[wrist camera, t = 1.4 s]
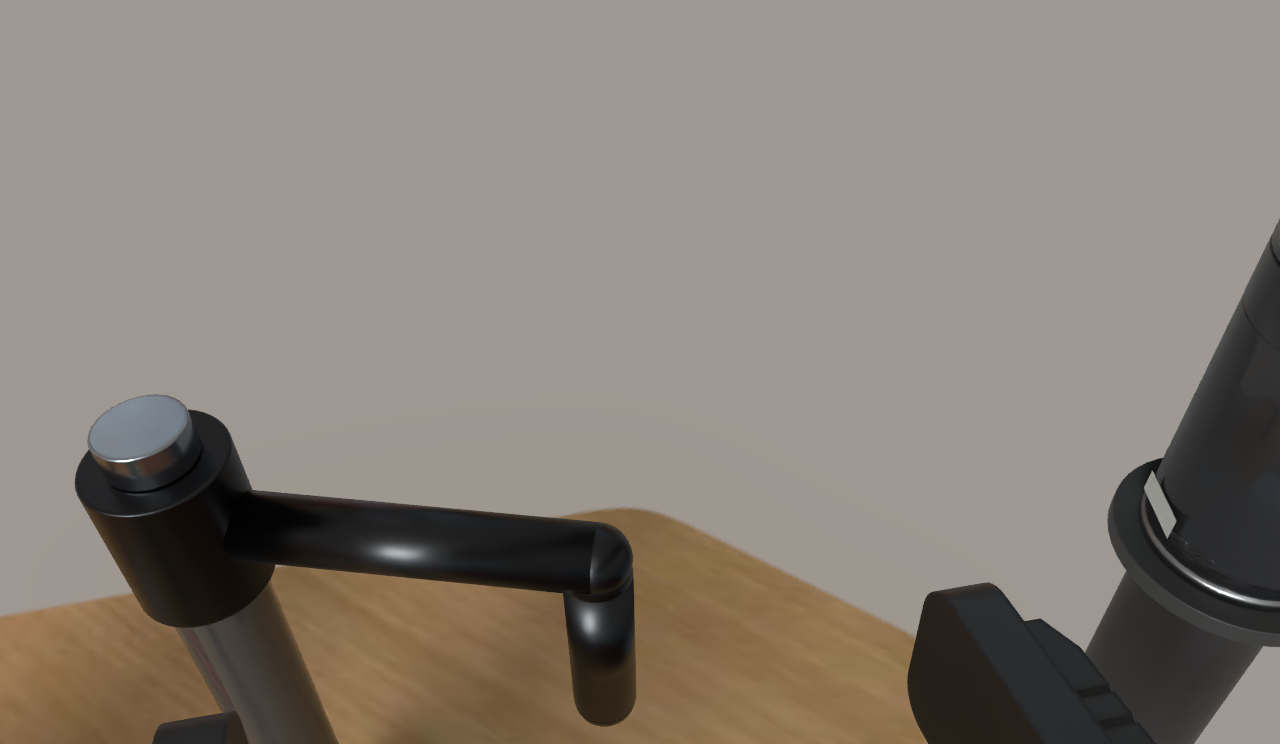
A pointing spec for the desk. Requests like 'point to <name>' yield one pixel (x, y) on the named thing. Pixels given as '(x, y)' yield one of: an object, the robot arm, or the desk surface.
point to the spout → (335, 541)
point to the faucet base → (260, 674)
